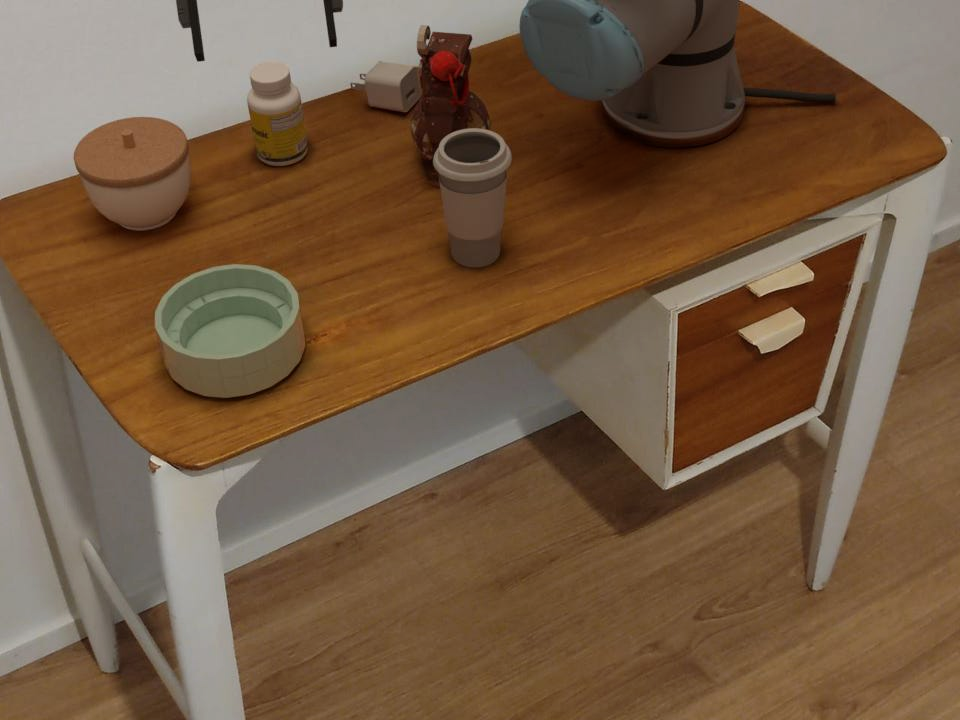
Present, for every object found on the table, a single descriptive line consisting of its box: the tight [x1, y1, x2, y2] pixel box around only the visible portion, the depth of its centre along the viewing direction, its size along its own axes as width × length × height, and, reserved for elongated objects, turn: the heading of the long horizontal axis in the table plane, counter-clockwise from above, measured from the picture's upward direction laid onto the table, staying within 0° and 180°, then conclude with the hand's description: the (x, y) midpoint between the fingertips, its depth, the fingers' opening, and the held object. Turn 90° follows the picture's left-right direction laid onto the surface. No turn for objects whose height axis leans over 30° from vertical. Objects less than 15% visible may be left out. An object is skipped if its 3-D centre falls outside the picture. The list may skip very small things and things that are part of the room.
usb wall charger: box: [349, 60, 422, 113], centre depth 142 cm, size 4×7×4 cm, turn 64°
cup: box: [433, 128, 513, 269], centre depth 119 cm, size 7×7×12 cm
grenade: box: [410, 24, 492, 188], centre depth 129 cm, size 9×8×15 cm
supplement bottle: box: [246, 61, 309, 167], centre depth 133 cm, size 5×5×10 cm
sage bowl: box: [154, 263, 306, 399], centre depth 112 cm, size 12×12×5 cm
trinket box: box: [73, 116, 192, 232], centre depth 126 cm, size 11×11×9 cm
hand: (266, 51), depth 133 cm, fingers open, 13 cm apart
